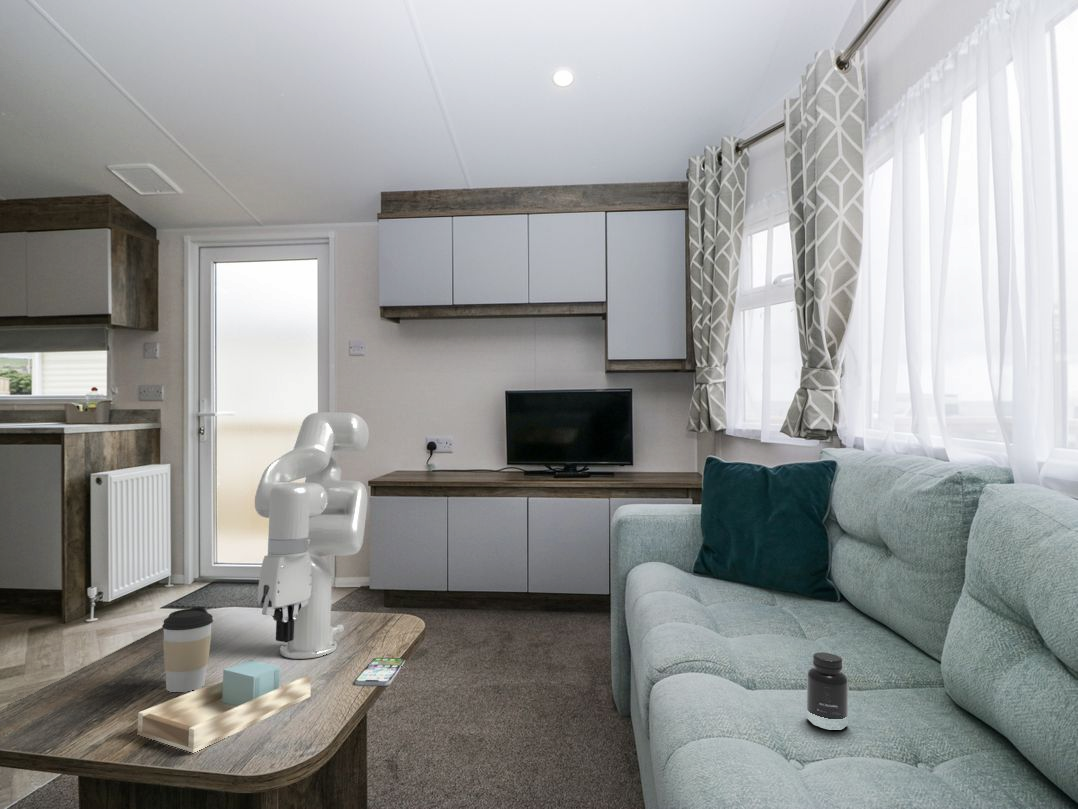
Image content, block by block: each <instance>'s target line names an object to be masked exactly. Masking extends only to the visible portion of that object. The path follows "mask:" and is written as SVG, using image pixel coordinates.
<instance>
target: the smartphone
mask: <svg viewBox="0 0 1078 809" xmlns="http://www.w3.org/2000/svg"><path fill="white" fill-rule="evenodd" d="M405 662H406V659H405V658H403V657H375V658H372V660H371V661H370V662H369V663H368V664H367V665H366V667H364V669H363V670H362V671H361V672H360V673H359V674H358V676H357V677H356V678H355V679H354V685H356V686H381V687H382V686H383V687H384V686H385V687H386V686H389V685H391V683H392V682H393V681H394V680H395V678H396V676H397V675H398V673H399V671H400V670H401V668H402V667H403V665H404V664H405ZM401 666H402V667H401Z"/></svg>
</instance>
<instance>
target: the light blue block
mask: <svg viewBox="0 0 1078 809" xmlns="http://www.w3.org/2000/svg"><path fill="white" fill-rule="evenodd" d="M222 672H223V673H222V679H223V696H222V702H223V703H227V704H230V705H234V706H240V705H242V704H244V703H247V702H249V701H251V700H253V699H255V698H258V697H260V696H262V695H264V694H267V693H269V692H271V691H273V690H276V689H278V688H279V685H281V684H280V680H281V679H280V678H281V666H279V665H275V664H272V663H267V662H262V661H258V660H253V659H248V660H245V661H243V662H240V663H238V664H233V665H232V666H230V667H226V668H224V669H223V671H222Z"/></svg>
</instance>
